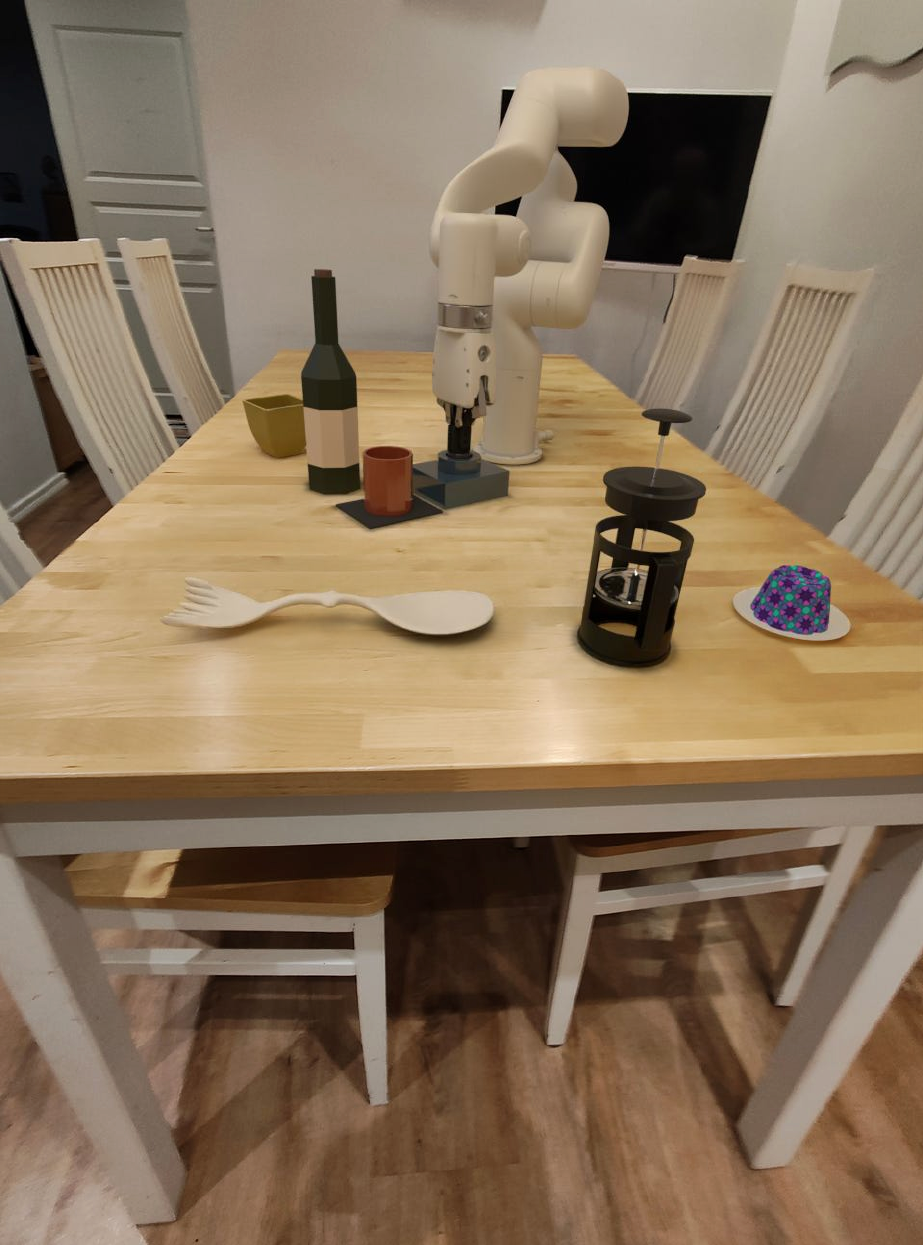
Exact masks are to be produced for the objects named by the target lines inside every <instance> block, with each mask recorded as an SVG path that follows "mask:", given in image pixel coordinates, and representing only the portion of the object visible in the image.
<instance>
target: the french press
mask: <svg viewBox="0 0 923 1245" xmlns="http://www.w3.org/2000/svg"><path fill="white" fill-rule="evenodd" d="M641 416H642V417H643V418H645V419H647V420H650V421H654V422H659V424H658V431H657V435H658V436H660V439H659V443H658V449H657V453H656V454H657V455H656V460H655V465H654V467H652V466H621V467H616V468H613V469H610V470H608V471H606V472H605V473H604V474H603V476H602V482H603V484H604V485H605V487H606V489H605V495H604V503H605V504H606V506H608V507H609V508H610V509H611V510H613V511H615V512H617V513H619V514H620V515H612V516H609V517H605V518H602V519H601V520H599V521H598V522H597V523H596V524H595V528H594V535H593V544H592V549H591V550H592V551H591V557H590V565H589V568H588V576H587V583H586V589H585V598H584V602H583V607H582V613H581V620H580V624H579V626H578V629H577V631H576V641H577V643H578V645H579V647H580V648H581V649H582V650H583V651H584V652H585V653H586V654H587V655H589V656H591V657H592V658H594V659H596V660H598V661H600V662H602V663H605V664H608V665H610V666H611V665H612V666H616V667H619V668H627V669H628V668H629V669H645V668H651V667H654V666H657V665H660V664H662V663H663V662H665V661H666V660H668V658H669V657H670V655H671V651H672V638H673V634H674V628H675V625H676V620H675V616H676V613H677V607H678V604H679V599H680V595H681V590H682V586H683V581H684V578H685V573H686V570H687V565H688V560H689V559H690V558H691V556H692V552H693V548H694V544H695V538H694V535H693V534H692V533H691V531H689V530H688V529H686V528H685V527H683V526H681V525H680V524H677V523H675V522H677V521H683V520H687V519H689V518H692V517H693V516H695V515H696V512H697V507H698V504H699V500H700V499H702V498H703V497H705V495H706V492H707V487H706V485H705V484H704V483H703V482H702V481H701V480H700V479H698V478H696V477H693V476H691V475H688V474H686V473H682V472H680V471H675V470H671V469H666V468H660V464H661V460H662V453H663V449H664V443H665V438H666V437H668V436H669V435H670V432H671V428H672V424H687V423H691V422H692V421H693V417H692V416H691V415H690V414H688V413H686V412H683V411H681V410H677V409H672V408H660V407H659V408H650V409H646V410H643V411H642V412H641ZM636 529H638V530H642V531H641V532H642V533H641V538H640V543H639V547H638V548H639V549H636V548H635V549H634V548H632V547H633V542H634V538H635V532H636ZM611 530H617V532H616V537H615V543H614V542H613V541H611V540H608V539H607V538H606V537H604V536H603V535H602V533H605V532H606V531H611ZM647 531H651V532H656V533H661V534H663V535H666V536H669V537H671V538H674V539H675V540H677V541H679V542H680V544H679V549H677V550H671V551H648V550H644V546H645V541H646V535H647ZM601 553H603V554H604V555H606V556H608V557H610V558H612V561H611V566H610V567H609V568H605V569H601V570H599V564H600V558H601ZM629 564H631V565H632V564H633V565H635V567H634V568H633V567H629ZM641 566H645V567H648V569H647V570H645V569H641ZM598 570H599V571H598ZM606 624H626V625H630V626H634V627H635V632H634V636H633V635H626V634H621V633H617V632H614V631H611V630H608V629H606V628H603V627H601V625H606Z"/></svg>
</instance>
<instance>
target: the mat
mask: <svg viewBox="0 0 923 1245" xmlns="http://www.w3.org/2000/svg"><path fill="white" fill-rule="evenodd" d="M335 507H336V508H337V509H338V510H340V511H342V512H343V513H344V514H346V515H348V516H349V517H351V518H352V519H353V520H355V521H356V522H357V523H360V524H361V525H362V526H364V527H365V528H367V529H368V530H374V529H378V528H379V529H380V528H383V527H388V526H392V525H396V524H402V523H406V522H409V521H414V520H419V519H424V518H428V517H432V516H437V515H441V514H443V513H444V511H443V510H442V509H441V508H439V507H438V506H436V505H434V504H432V503H430V502H429V501H427V500H425V499H423V498H421V497H419V496H418V495H417V496H416V494H413V504H412V510H411V511H410V512H408V513H406V514H403V515H399V516H379V515H374V514H371V513H369V512H367V511H366V510H365V504H364V498H361V499H356V500H351V501H345V502H340V503H336V504H335Z"/></svg>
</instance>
